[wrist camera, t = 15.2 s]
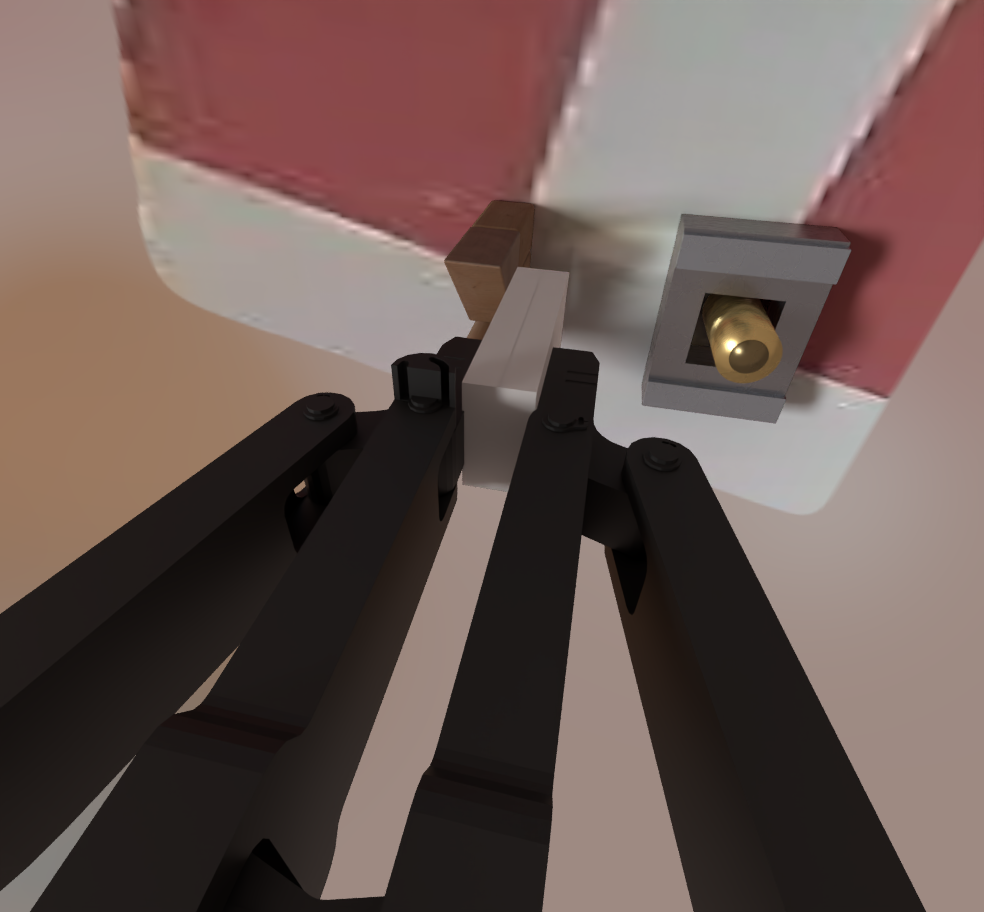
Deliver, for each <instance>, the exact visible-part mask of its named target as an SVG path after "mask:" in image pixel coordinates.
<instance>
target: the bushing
mask: <svg viewBox="0 0 984 912" xmlns="http://www.w3.org/2000/svg"><path fill="white" fill-rule="evenodd" d="M702 318H703V322H704V326H705V329H706V333H707V336H708V340H709V343H710V347H711V350H712V354H713V357H714V361H715V364H716V368H717V370H718V372H719V373H720V374H721V375H722V376H723V377H724V378H725V379H727V380H729V381H732V382H735V383H751V382H755V381H758V380H760V379H763V378H764V377H766V376H768V375H769V374H770V373H771V372H773V371H774V370H775V368H776V367H777V366H778V364H779V363H780V361H781V358H782V353H783V348H782V344H781V341H780V339H779V337H778V335H777V333H776V331H775V329H774V327H773V325H772V323H771V321H770V319H769V317H768V315H767V313H766V311H765V309H764V307H763V305H762V303H761V301H760V299H759V298H749V297H740V296H730V295H721V294H712V293H711V294H710V295H709V297H708V298H707V299H706V301H705V303H704V305H703V308H702Z"/></svg>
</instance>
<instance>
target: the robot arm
mask: <svg viewBox="0 0 984 912" xmlns="http://www.w3.org/2000/svg"><path fill="white" fill-rule="evenodd" d="M568 279H569V272H563V271H553V270H544V269H534V268H525V267H517V269H516V271H515V273H514V275H513V278H512V280H511V282H510V284H509V286H508V288H507V290H506V292H505V294H504V296H503V298H502V300H501V302H500V304H499V307H498V309H497V311H496V313H495V315H494V317H493V319H492V321H491V323H490V325H489V327H488V329H487V331H486V333H485V336H484V338H483V340H479V339H471V338H463V337H454V338H453V339H451V340H449V341H448V342H446V343H445V344H443V345H442V346H441V348H440V350H439V351H438V353H437V354H432V353H417V354H411V355H407V356H404V357H402V358H399V359H397V360H396V361H395V362H394V363H393V364H392V365H391V368H392V378H393V387H394V397H395V399H394V401H393V403H392V404H391V406H390V407H389V409H387V410H381V411H370V412H355V406H354V403H353V402H352V401H351V399H350V398H348V397H346V396H344V395H342V394H336V393H317V394H313V395H309V396H306V397H304V398H302V399H300V400H298V401H296V402H295V403H293V404H292V405H291V406H289V407H288V408H286V409H285V410H284V411H282V412H281V413H280V414H278V415H277V416H275V417H274V418H273V419H271V420H270V421H269V422H267V423H266V424H264V425H263V426H261V427H260V428H259V429H257V430H256V431H254V432H253V433H252V434H250V435H249V436H247V437H246V438H245V439H243V440H242V441H241V442H239V443H238V444H236V445H235V446H234V447H232V448H231V449H229V450H228V451H227V452H225V453H224V454H222V455H221V456H220V457H218V458H217V459H215V460H214V461H213V462H211V463H210V464H208V465H207V466H206V467H204V468H203V469H202V470H200V471H199V472H197V473H196V474H195V475H193V476H192V477H190V478H189V479H188V480H186V481H185V482H183V483H182V484H181V485H179V486H178V487H176V488H175V489H174V490H172V491H171V492H170V493H168V494H167V495H165V496H164V497H162V498H161V499H160V500H158V501H157V502H156V503H154V504H153V505H151V506H150V507H149V508H147V509H146V510H144V511H143V512H142V513H140V514H139V515H137V516H136V517H135V518H133V519H132V520H130V521H129V522H128V523H126V524H125V525H123V526H122V527H121V528H119V529H118V530H117V531H115V532H114V533H113V534H111V535H110V536H108V537H107V538H106V539H104V540H103V541H101V542H100V543H98V544H97V545H96V546H94V547H93V548H91V549H90V550H89V551H87V552H86V553H85V554H83V555H82V556H80V557H79V558H78V559H76V560H75V561H73V562H72V563H71V564H69V565H68V566H66V567H65V568H64V569H62V570H61V571H59V572H58V573H57V574H55V575H54V576H52V577H51V578H50V579H48V580H47V581H46V582H44V583H43V584H41V585H40V586H39V587H37V588H36V589H34V590H33V591H32V592H30V593H29V594H27V595H26V596H25V597H23V598H22V599H20V600H19V601H18V602H16V603H15V604H13V605H12V606H11V607H9V608H8V609H6V610H5V611H4V612H2V613H1V614H0V891H1V890H2V889H3V888H4V887H6V885H8V884H9V883H10V882H11V881H12V880H14V879H15V878H16V877H17V876H18V875H19V874H20V873H22V872H23V871H24V870H25V869H26V868H27V867H28V866H29V865H30V864H31V863H32V862H33V861H34V860H35V859H36V858H37V857H38V856H39V855H40V854H41V853H42V852H43V851H45V849H46V848H47V847H49V846H50V845H51V844H52V842H54V841H55V839H57V837H58V836H60V835H61V834H62V833H63V832H64V831H65V829H67V827H69V825H70V824H71V823H72V822H73V821H74V820H75V819H76V818H77V817H78V816H79V815H80V814H81V813H82V812H83V811H84V810H85V808H86V807H87V806H88V805H89V804H90V803H91V802H92V801H93V800H94V799H95V798H96V797H97V796H98V795H99V794H100V792H101V791H102V790H103V789H104V788H105V787H106V786H107V785H108V784H109V783H110V782H111V781H112V779H114V778H115V777H116V775H117V774H118V773H119V772H120V771H121V770H122V769H123V768H124V767H125V766H126V765H127V764H128V763H129V762H130V761H131V759H132V758H133V757H134V756H135V755H136V754H137V755H136V756H135V757H134V759H133V761H132V762H131V764H130V765H129V766H128V768H127V769H126V771H125V772H124V774H123V775H122V777H121V778H120V780H119V781H118V783H117V784H116V786H115V787H114V789H113V790H112V791H111V793H110V794H109V796H108V797H107V799H106V800H105V802H104V803H103V805H102V806H101V808H100V809H99V811H98V812H97V814H96V815H95V817H94V818H93V819H92V821H91V823H90V824H89V825H88V827H87V828H86V830H85V831H84V833H83V835H82V836H81V837H80V839H79V840H78V842H77V843H76V845H75V846H74V848H73V849H72V851H71V852H70V853H69V855H68V857H67V858H66V859H65V861H64V862H63V864H62V866H61V867H60V868H59V870H58V871H57V873H56V874H55V876H54V877H53V879H52V880H51V882H50V883H49V885H48V886H47V887H46V889H45V891H44V892H43V893H42V895H41V896H40V898H39V899H38V901H37V902H36V904H35V905H34V907H33V908H32V910H31V911H30V912H542V907H543V898H544V888H545V880H546V871H547V862H548V852H549V843H550V833H551V822H552V808H553V804H552V803H553V801H552V791H553V780H554V771H555V763H556V754H557V745H558V735H559V728H560V719H561V710H562V701H563V692H564V684H565V675H566V666H567V657H568V648H569V640H570V631H571V622H572V613H573V605H574V596H575V588H576V578H577V570H578V561H579V553H580V544H581V535H583V536H585V537H588V538H590V539H592V540H594V541H597V542H599V543H601V544H603V545H605V557H606V560H607V564H608V569H609V573H610V577H611V580H612V584H613V589H614V593H615V597H616V601H617V605H618V609H619V613H620V617H621V621H622V625H623V629H624V633H625V637H626V641H627V645H628V649H629V653H630V657H631V661H632V665H633V669H634V673H635V677H636V681H637V685H638V689H639V694H640V698H641V702H642V706H643V709H644V713H645V717H646V721H647V726H648V730H649V734H650V738H651V742H652V746H653V750H654V754H655V758H656V762H657V766H658V770H659V774H660V778H661V782H662V786H663V790H664V794H665V798H666V802H667V806H668V810H669V814H670V818H671V822H672V826H673V830H674V834H675V839H676V842H677V847H678V851H679V854H680V858H681V863H682V867H683V870H684V875H685V879H686V882H687V887H688V891H689V895H690V899H691V903H692V907H693V911H694V912H926V911H925V909H924V907H923V905H922V903H921V901H920V899H919V897H918V895H917V893H916V891H915V889H914V887H913V885H912V883H911V881H910V879H909V877H908V875H907V873H906V871H905V869H904V867H903V865H902V863H901V861H900V859H899V857H898V855H897V853H896V851H895V849H894V847H893V846H892V843H891V841H890V840H889V837H888V835H887V834H886V831H885V829H884V828H883V826H882V824H881V822H880V820H879V818H878V816H877V814H876V812H875V810H874V808H873V806H872V804H871V802H870V800H869V798H868V796H867V794H866V792H865V791H864V788H863V786H862V784H861V782H860V780H859V778H858V776H857V774H856V772H855V771H854V768H853V766H852V764H851V762H850V760H849V759H848V756H847V754H846V753H845V750H844V749H843V747H842V745H841V743H840V741H839V739H838V737H837V735H836V733H835V731H834V729H833V727H832V725H831V723H830V721H829V719H828V717H827V715H826V713H825V711H824V709H823V707H822V705H821V703H820V701H819V699H818V697H817V695H816V693H815V691H814V689H813V687H812V685H811V683H810V682H809V679H808V677H807V675H806V674H805V672H804V669H803V667H802V666H801V663H800V661H799V660H798V658H797V656H796V654H795V652H794V650H793V648H792V646H791V644H790V642H789V640H788V638H787V636H786V634H785V632H784V630H783V628H782V626H781V624H780V622H779V620H778V618H777V616H776V614H775V612H774V610H773V608H772V606H771V604H770V602H769V600H768V598H767V596H766V594H765V592H764V590H763V588H762V586H761V584H760V582H759V580H758V578H757V577H756V575H755V573H754V571H753V569H752V567H751V565H750V563H749V561H748V559H747V557H746V555H745V553H744V551H743V549H742V547H741V545H740V543H739V541H738V539H737V537H736V535H735V533H734V531H733V529H732V527H731V525H730V523H729V521H728V520H727V517H726V515H725V513H724V511H723V509H722V507H721V505H720V503H719V501H718V500H717V497H716V496H715V494H714V492H713V490H712V488H711V486H710V484H709V482H708V480H707V478H706V476H705V474H704V472H703V470H702V468H701V466H700V464H699V462H698V460H697V458H696V457H695V456H694V455H693V453H692V452H691V451H690V450H689V449H687V448H686V447H684V446H683V445H681V444H680V443H677V442H674V441H671V440H668V439H663V438H655V437H651V438H643V439H639V440H637V441H635V442H633V443H631V445H630V446H629V448H625V447H623V446H620V445H617V444H615V443H613V442H611V441H609V440H608V439H606V438H605V437H603V436H602V435H601V434H600V433H599V432H598V431H597V430H596V428H595V426H594V420H593V417H594V409H595V400H596V391H597V382H598V373H599V364H600V363H599V361H598V360H597V358H596V357H595V355H594V354H593V352H588V351H580V350H572V349H564V348H560V346H561V338H562V329H563V321H564V312H565V304H566V296H567V287H568ZM461 471H462V473H463V474H462V475H463V476H462V477H463V478H462V481H463V485H468V486H474V487H480V488H486V489H492V490H499V491H505V492H508V493H507V497H506V501H505V504H504V508H503V511H502V515H501V519H500V522H499V526H498V529H497V533H496V537H495V540H494V544H493V547H492V551H491V554H490V558H489V561H488V565H487V569H486V572H485V576H484V580H483V583H482V587H481V590H480V594H479V597H478V601H477V605H476V608H475V612H474V615H473V619H472V622H471V626H470V629H469V633H468V637H467V640H466V644H465V647H464V651H463V655H462V658H461V662H460V665H459V669H458V672H457V676H456V680H455V683H454V687H453V690H452V694H451V698H450V701H449V705H448V708H447V712H446V716H445V719H444V723H443V726H442V730H441V734H440V737H439V741H438V744H437V748H436V751H435V754H434V757H433V760H432V762H431V764H430V766H429V768H428V769H427V770H426V771H425V772H424V773H423V775H422V778H421V780H420V783H419V785H418V787H417V790H416V793H415V796H414V799H413V802H412V805H411V808H410V812H409V815H408V818H407V822H406V825H405V829H404V832H403V835H402V839H401V843H400V846H399V849H398V853H397V856H396V859H395V863H394V867H393V870H392V873H391V877H390V880H389V883H388V887H387V890H386V894H385V896H383V897H367V898H352V899H336V900H320V897H321V894H322V891H323V889H324V886H325V883H326V880H327V877H328V874H329V870H330V868H331V864H332V860H333V856H334V851H335V846H336V837H337V830H338V823H339V819H340V815H341V812H342V808H343V805H344V803H345V800H346V797H347V795H348V792H349V789H350V786H351V784H352V781H353V778H354V776H355V773H356V770H357V768H358V765H359V762H360V759H361V757H362V754H363V751H364V748H365V746H366V743H367V740H368V738H369V735H370V732H371V730H372V727H373V725H374V722H375V719H376V716H377V714H378V711H379V708H380V706H381V703H382V700H383V698H384V695H385V692H386V689H387V687H388V684H389V681H390V679H391V676H392V673H393V671H394V668H395V665H396V662H397V660H398V657H399V655H400V652H401V649H402V646H403V644H404V641H405V638H406V636H407V633H408V630H409V628H410V625H411V622H412V620H413V617H414V614H415V611H416V609H417V606H418V603H419V601H420V598H421V595H422V593H423V590H424V587H425V585H426V582H427V579H428V576H429V574H430V571H431V568H432V566H433V563H434V560H435V557H436V555H437V552H438V550H439V547H440V544H441V541H442V539H443V536H444V533H445V531H446V528H447V525H448V523H449V520H450V517H451V514H452V512H453V509H454V506H455V504H456V501H457V481H458V478H459V476H460V473H461ZM303 480H304V481H305V485H306V487H305V488H303V489H302V490H301V491H300V492H298V493H296V494H295V492H294V488H295V487H296V486H298V485H299V484H300V483H301V482H302V481H303ZM238 646H239V647H238ZM237 647H238V648H237ZM236 648H237V650H236V651H235V653H234V655H233V656H232V658H231V659H230V661H229V663H228V664H227V666H226V667H225V669H224V670H223V672H222V673H221V675H220V677H219V678H218V680H217V682H216V683H215V685H214V686H213V688H212V689H211V691H210V693H209V694H208V695H207V697H206V698H205V699H204V701H203V702H202V703H201V704H200V705H199V706H197V707H196V708H195V709H194V710H191V711H186V712H182V713H177V714H175V713H176V712H177V710H178V709H179V708H180V707H181V706H182V705H183V704H184V703H185V702H186V701H187V700H188V699H189V698H190V697H191V696H192V695H193V694H194V692H195V691H196V690H197V689H198V688H199V687H200V686H201V685H202V684H203V683H204V682H205V681H206V680H207V679H208V677H209V676H210V675H211V674H212V673H213V672H214V671H215V670H216V669H217V668H218V667H219V666H220V665H221V663H223V661H225V659H226V658H227V657H228V656H229V655H230V654H231V653H232V652H233V651H234V650H235V649H236Z"/></svg>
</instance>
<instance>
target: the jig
mask: <svg viewBox="0 0 984 912" xmlns="http://www.w3.org/2000/svg"><path fill="white" fill-rule="evenodd" d="M850 243H851V242H850V241H849V240H848V239H847V238H846V237H845V236H844V235H843V234H842V233H841V231H840V230H839V229H838V228H837V227H827V226H815V225H804V224H792V223H780V222H769V221H757V220H746V219H734V218H723V217H711V216H699V215H688V214H681V218H680V223H679V227H678V231H677V236H676V240H675V244H674V248H673V253H672V257H671V261H670V265H669V270H668V274H667V278H666V283H665V287H664V291H663V295H662V300H661V304H660V308H659V313H658V317H657V321H656V325H655V330H654V334H653V338H652V342H651V347H650V351H649V355H648V360H647V364H646V368H645V372H644V377H643V381H642V405H643V406H651V407H658V408H665V409H673V410H680V411H687V412H695V413H702V414H710V415H717V416H724V417H732V418H739V419H746V420H754V421H761V422H769V423H776V422H777V420H778V417H779V415H780V413H781V410H782V408H783V406H784V404H785V401H786V397H785V394H786V392H787V389H788V387H789V385H790V382H791V380H792V378H793V375H794V373H795V371H796V368H797V366H798V364H799V362H800V359H801V357H802V355H803V352H804V350H805V348H806V345H807V343H808V341H809V338H810V336H811V334H812V331H813V329H814V327H815V324H816V322H817V320H818V317H819V315H820V313H821V311H822V308H823V306H824V304H825V301H826V299H827V297H828V294H829V292H830V290H831V287H832V285H833V284H837V282H838V280H839V277H840V275H841V273H842V271H843V268H844V266H845V264H846V261H847V259H848V257H849V254H850V252H851V249H850V248H849V246H850ZM705 293H712V294H721V295H730V296H740V297H749V298H759V299H768V300H771V302H770V305H769V307H768V310H767V315H768V317H769V319H770V321H771V323H772V325H773V327H774V329H775V331H776V333H777V335H778V337H779V339H780V341H781V344H782V348H783V353H782V358H781V361H780V363H779V364H778V366H777V367H776V368H775V370H774V371H773V372H771V373H770V374H769V375H768V376H766V377H764V378H763V379H760V380H758V381H755V382H751V383H735V382H732V381H729V380H727V379H725V378H724V377H723V376H722V375H721V374H720V373H719V372H718V370H717V368H716V364H715V361H714V357H713V354H712V350H711V347H706V346H697V345H690V344H691V341H692V337H693V334H694V330H695V327H696V323H697V319H698V316H699V312H700V309H701V305H702V302H703V298H704V295H705Z"/></svg>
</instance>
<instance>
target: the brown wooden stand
mask: <svg viewBox="0 0 984 912" xmlns="http://www.w3.org/2000/svg"><path fill="white" fill-rule="evenodd" d="M534 210H535V209H534V205H532V204H528V203H517V202H506V201H496V200H494V201H491V203H490V204H489V205H488V206H487V208H486V209H485V210H484V211H483V213H482V214H481V215H480V217H479V218H478V219H477V220H476V222H475V223H474V224H473V225H472V227H470V228H469V230H468V231H467V232H466V233H465V235H464V236H463V237H462V239H461V240H460V241H459V242H458V244H457V245H456V246H455V247H454V249H453V250H452V251H451V252H450V254H449V255H448V256H447V257H446V259H445V260H444V263H445V265H446V267H447V270H448V272H449V274H450V276H451V279H452V281H453V283H454V285H455V288H456V290H457V292H458V294H459V297H460V299H461V301H462V304H463V306H464V308H465V310H466V313H467V315H468V317H469V319H470V320H473V321H475V323H474V325H473V327H472V329H471V331H470V333H469V335H468V336H467V338H471V339H479V340H483V338H484V336H485V333H486V331H487V329H488V327H489V325H490V323H491V321H492V319H493V317H494V315H495V313H496V311H497V309H498V307H499V304H500V302H501V300H502V298H503V296H504V294H505V292H506V290H507V288H508V286H509V284H510V282H511V280H512V278H513V275H514V273H515V271H516V269H517V267H525V268H530V260H531V253H530V249H531V246H532V235H533V223H534Z"/></svg>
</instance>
